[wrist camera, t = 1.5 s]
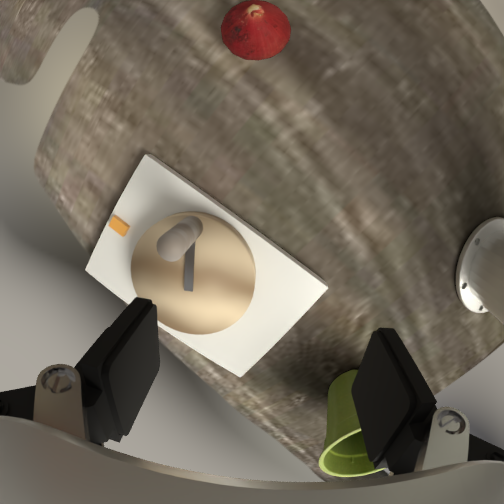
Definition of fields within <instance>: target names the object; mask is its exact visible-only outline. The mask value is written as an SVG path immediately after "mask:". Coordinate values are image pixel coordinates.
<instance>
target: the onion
mask: <svg viewBox="0 0 504 504" xmlns="http://www.w3.org/2000/svg"><path fill="white" fill-rule="evenodd" d="M221 32H222V39H223V43H224V44H225V45H226V46H227V47H228V49H229V50H230V51H231V52H232V53H233V54H234V55H236V56H239V57H241V58H243V59H245V60H262V59H267V58H271V57H273V56H274V55H276V54H278V53H279V52H281V51H282V49H283V48H284V47H285V45H286V44H287V43H288V41H289V39H290V33H291V27H290V24H289V21H288V19H287V16H286V15H285V14H284V13H283V12H282V11H281V10H280V9H279V8H278V7H277V6H275V5H273V4H271V3H269V2H266V1H259V0H250V1H244V2H242V3H240V4H238V5H236V6H234V7H232V8H231V10H230V11H229V12H228V13H227V14H226V15H225V17H224V19H223V22H222V25H221Z"/></svg>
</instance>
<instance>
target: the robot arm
mask: <svg viewBox="0 0 504 504" xmlns="http://www.w3.org/2000/svg"><path fill="white" fill-rule="evenodd" d="M456 290H457V294H458V297H459V299H460V301H461V302H462V304H463V305H464V306H465V307H466V308H467V309H469V310H470V311H472V312H475V313H484V312H488V311H489V312H490V313H492V314H493V315H494V316H495V317H496V318H497V319H498V320H499V321H500V322H501V323H502V324H504V218H501V217H493V218H490V219H488V220H486V221H484V222H483V223H481V224H480V225H479V226H478V227H477V228H476V229H475V230H474V231H473V232H472V234H471V235H470V236H469V238H468V240H467V241H466V243H465V245H464V247H463V249H462V252H461V254H460V257H459V261H458V264H457V270H456ZM159 367H160V355H159V340H158V320H157V306H156V304H153V302H152V300H151V299H146V298H140V297H136V298H134V300H133V301H132V302H131V303H130V304H129V305H128V306H127V307H126V309H125V310H124V311H123V312H122V313H121V314H120V316H119V317H118V318H117V319H116V320H115V321H114V322H113V324H112V325H111V326H110V327H108V328H107V329H106V330H105V331H104V332H103V333H102V334H101V336H100V337H99V338H98V339H97V340H96V342H95V343H94V344H93V345H92V346H91V347H90V349H89V350H88V351H87V352H86V353H85V355H84V356H83V357H82V358H81V360H80V361H79V362H78V363H77V364H76V366H75V367H74V368H73V367H72V366H69V365H65V364H56V365H51V366H49V367H47V368H45V369H44V370H42V371H41V372H40V374H39V375H38V378H37V382H36V385H35V386H30V387H25V388H20V389H15V390H9V391H4V392H0V504H504V450H503V449H501V448H499V447H497V446H495V445H492V444H490V443H488V442H486V441H484V440H482V439H479V438H477V437H475V436H473V435H471V434H469V421H468V419H467V418H466V416H465V415H464V414H463V413H462V412H460V411H459V410H457V409H455V408H452V407H441V408H439V409H437V408H436V406H435V404H436V402H437V401H436V399H435V397H434V396H433V394H432V392H431V390H430V388H429V386H428V385H427V383H426V381H425V379H424V378H423V376H422V374H421V372H420V371H419V369H418V367H417V365H416V364H415V362H414V360H413V359H412V357H411V355H410V354H409V352H408V350H407V349H406V347H405V345H404V344H403V342H402V340H401V339H400V337H399V336H398V334H397V332H396V331H395V329H393V328H378V330H377V331H374V332H373V333H372V335H371V338H370V341H369V344H368V346H367V349H366V352H365V354H364V357H363V360H362V362H361V365H360V367H359V370H358V372H357V374H356V377H355V379H354V382H353V384H352V388H351V394H352V398H353V401H354V405H355V409H356V412H357V416H358V420H359V423H360V427H361V431H362V435H363V439H364V443H365V447H366V451H367V455H368V459H369V461H370V462H373V464H374V468H375V469H383V468H389V471H390V474H389V476H387V477H380V478H372V479H362V480H351V481H335V482H276V481H260V480H249V479H240V478H231V477H224V476H217V475H211V474H205V473H199V472H194V471H188V470H184V469H179V468H174V467H170V466H166V465H162V464H158V463H154V462H150V461H147V460H143V459H140V458H136V457H133V456H130V455H127V454H124V453H120V452H117V451H114V450H111V449H108V448H105V447H104V442H107V441H108V440H109V439H111V440H114V441H117V442H120V440H121V438H122V436H123V435H125V436H127V435H128V434H129V432H130V430H131V428H132V425H133V423H134V421H135V419H136V417H137V415H138V412H139V410H140V408H141V406H142V404H143V402H144V400H145V398H146V396H147V394H148V392H149V389H150V387H151V385H152V383H153V381H154V379H155V377H156V375H157V373H158V371H159Z"/></svg>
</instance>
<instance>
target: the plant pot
mask: <svg viewBox="0 0 504 504" xmlns="http://www.w3.org/2000/svg"><path fill="white" fill-rule="evenodd" d="M357 372H358V370H350V371H348V372H345V373H343V374H342V375H340V376H339V377H337V378H336V379H335V380H334V381H333V382H332V383H331V385H330V387H329V391H328V409H327V433H326V439H325V442H324V451H323V452H322V453H321V455H320V457H319V466H320V468H321V469H322V470H323V471H324V472H326V473H328V474H330V475H333V476H340V477H354V476H362V475H366V474H371V473H374V472H377V471H380V470H383V469H385V468H383V469H375V468H374V464H373V462H370V461H369V459H368V455H367V451H366V447H365V443H364V439H363V435H362V431H361V427H360V423H359V420H358V416H357V412H356V409H355V405H354V401H353V398H352V394H351V388H352V384H353V382H354V379H355V377H356V374H357Z"/></svg>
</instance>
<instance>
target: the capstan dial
mask: <svg viewBox="0 0 504 504" xmlns="http://www.w3.org/2000/svg"><path fill="white" fill-rule="evenodd" d="M131 278H132V283H133V286H134V289H135V292H136V294H137V296H138V297H140V298H146V299H151V300H152V302H153V304H156V306H157V320H158V321H159V322H161V323H162V324H164V325H166V326H167V327H169V328H172V329H174V330H176V331H179V332H183V333H187V334H195V335H204V334H212V333H216V332H219V331H222V330H224V329H226V328H228V327H230V326H231V325H233V324H234V323H236V322H237V321H238V320H239V319H240V318H241V317H242V316H243V314H244V313H245V312H246V311H247V309H248V307H249V305H250V303H251V300H252V297H253V293H254V288H255V279H256V268H255V262H254V257H253V255H252V252H251V249H250V247H249V246H248V244H247V242H246V241H245V239H244V238H243V236H242V235H241V234H240V233H239V232H238V231H237V230H236V229H235V228H234V227H233V226H231V225H230V224H229V223H227V222H226V221H224V220H223V219H221V218H219V217H216V216H214V215H211V214H208V213H203V212H197V211H187V212H180V213H176V214H173V215H170V216H168V217H166V218H164V219H162V220H161V221H159V222H157V223H156V224H154V225H153V226H151V227H150V228H149V229H148V230H147V231H146V232H145V233H144V234H143V235H142V236H141V238H140V239H139V241H138V242H137V244H136V246H135V248H134V251H133V255H132V259H131Z"/></svg>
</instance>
